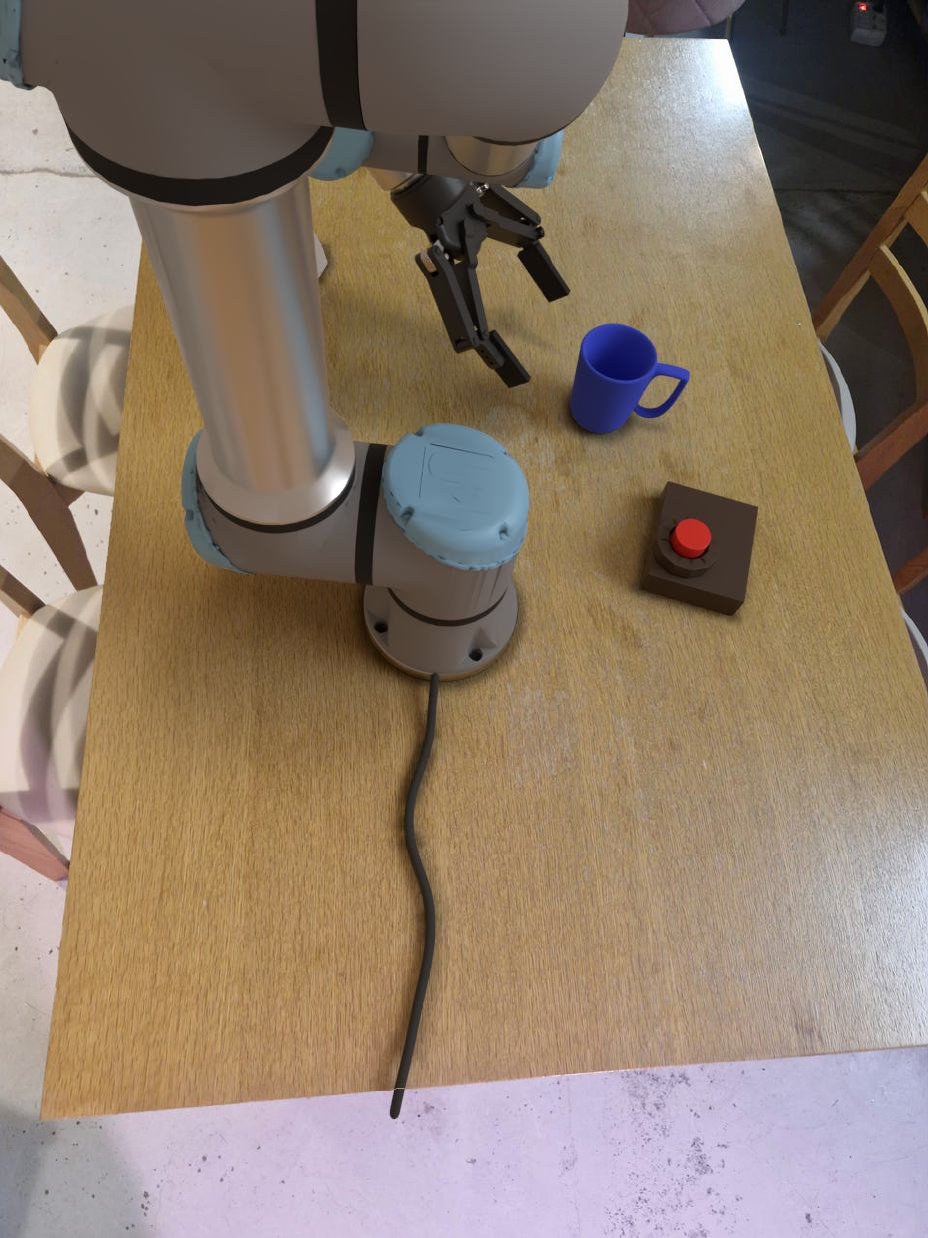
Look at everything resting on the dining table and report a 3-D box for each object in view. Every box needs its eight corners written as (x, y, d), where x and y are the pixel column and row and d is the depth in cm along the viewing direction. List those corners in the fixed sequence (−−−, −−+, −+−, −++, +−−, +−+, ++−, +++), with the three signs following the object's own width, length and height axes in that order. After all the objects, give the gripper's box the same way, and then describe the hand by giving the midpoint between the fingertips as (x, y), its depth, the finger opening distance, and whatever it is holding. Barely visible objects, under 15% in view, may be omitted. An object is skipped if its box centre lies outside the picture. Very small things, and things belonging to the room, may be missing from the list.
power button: (702, 562, 85) (708, 553, 84) (667, 552, 85) (673, 543, 84) (707, 533, 87) (713, 524, 85) (673, 523, 87) (678, 514, 85)
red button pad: (732, 616, 88) (751, 594, 84) (637, 588, 88) (651, 564, 84) (746, 522, 93) (765, 497, 89) (656, 496, 94) (670, 470, 89)
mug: (661, 456, 96) (690, 398, 87) (557, 433, 96) (576, 372, 87) (667, 401, 100) (696, 339, 91) (567, 379, 100) (586, 315, 91)
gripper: (391, 235, 71) (530, 413, 83) (493, 73, 82) (602, 252, 94) (335, 266, 76) (474, 429, 88) (438, 110, 87) (548, 274, 99)
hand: (540, 338), depth 91 cm, fingers open, 13 cm apart
